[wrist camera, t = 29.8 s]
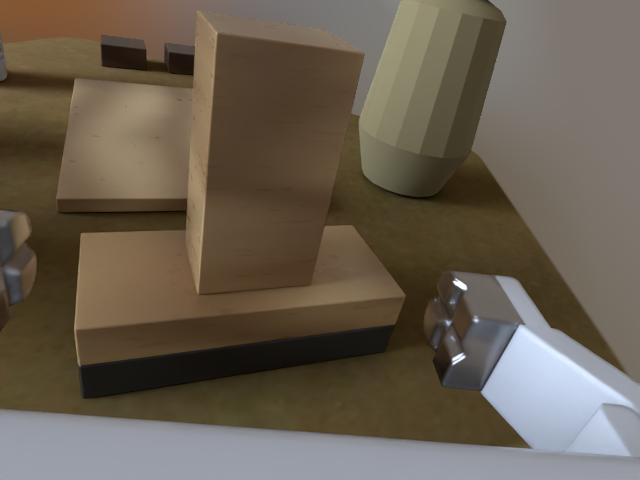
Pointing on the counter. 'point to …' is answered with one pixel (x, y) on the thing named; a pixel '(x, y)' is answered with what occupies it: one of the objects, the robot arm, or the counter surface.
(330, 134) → the brush
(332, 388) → the counter surface
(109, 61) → the chip
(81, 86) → the board
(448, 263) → the counter surface
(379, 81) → the squeeze bottle
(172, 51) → the dark brown square block
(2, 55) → the bottle
